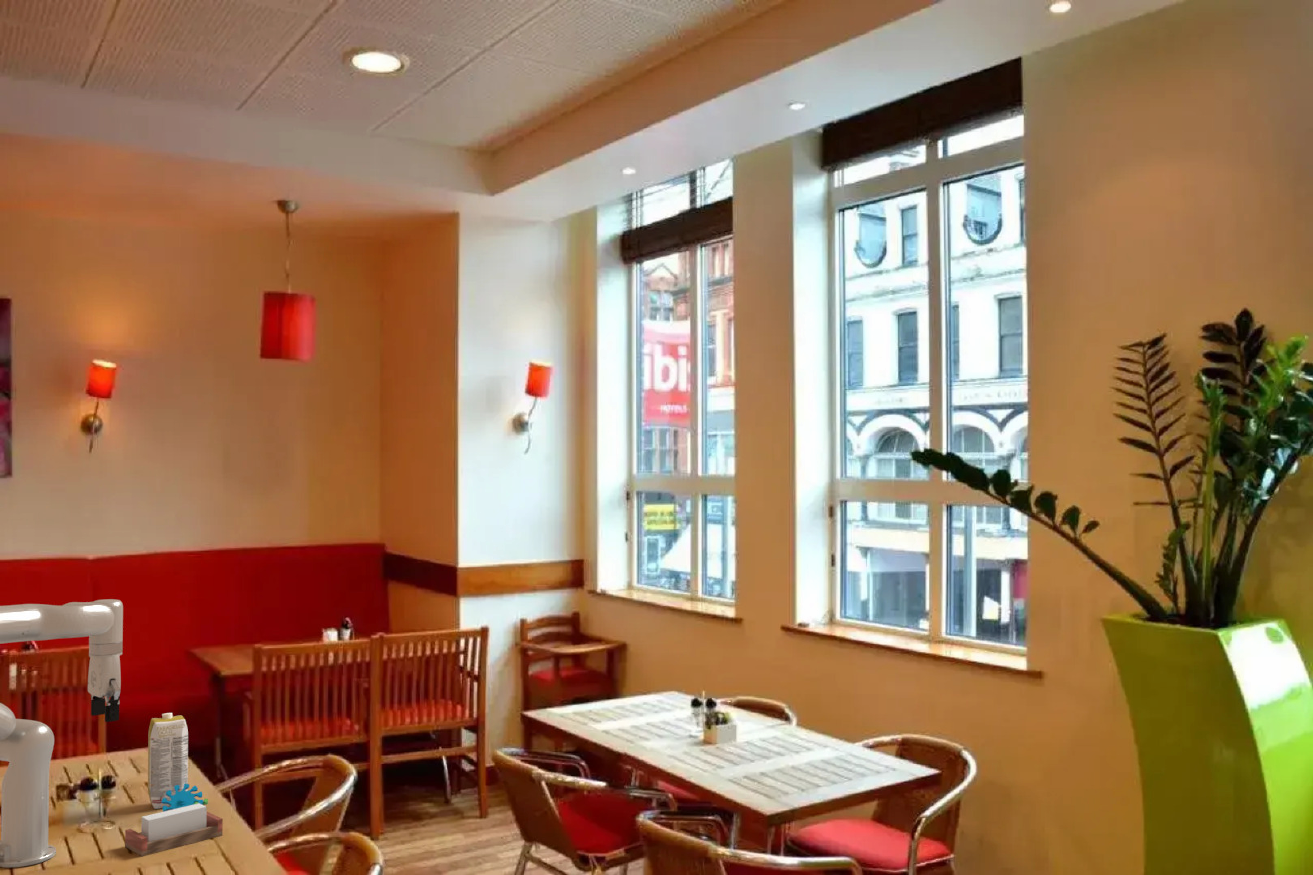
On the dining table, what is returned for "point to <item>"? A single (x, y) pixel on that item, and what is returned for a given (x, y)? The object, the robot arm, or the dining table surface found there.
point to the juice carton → (167, 757)
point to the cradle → (173, 837)
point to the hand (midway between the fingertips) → (104, 718)
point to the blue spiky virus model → (182, 798)
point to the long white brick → (174, 822)
